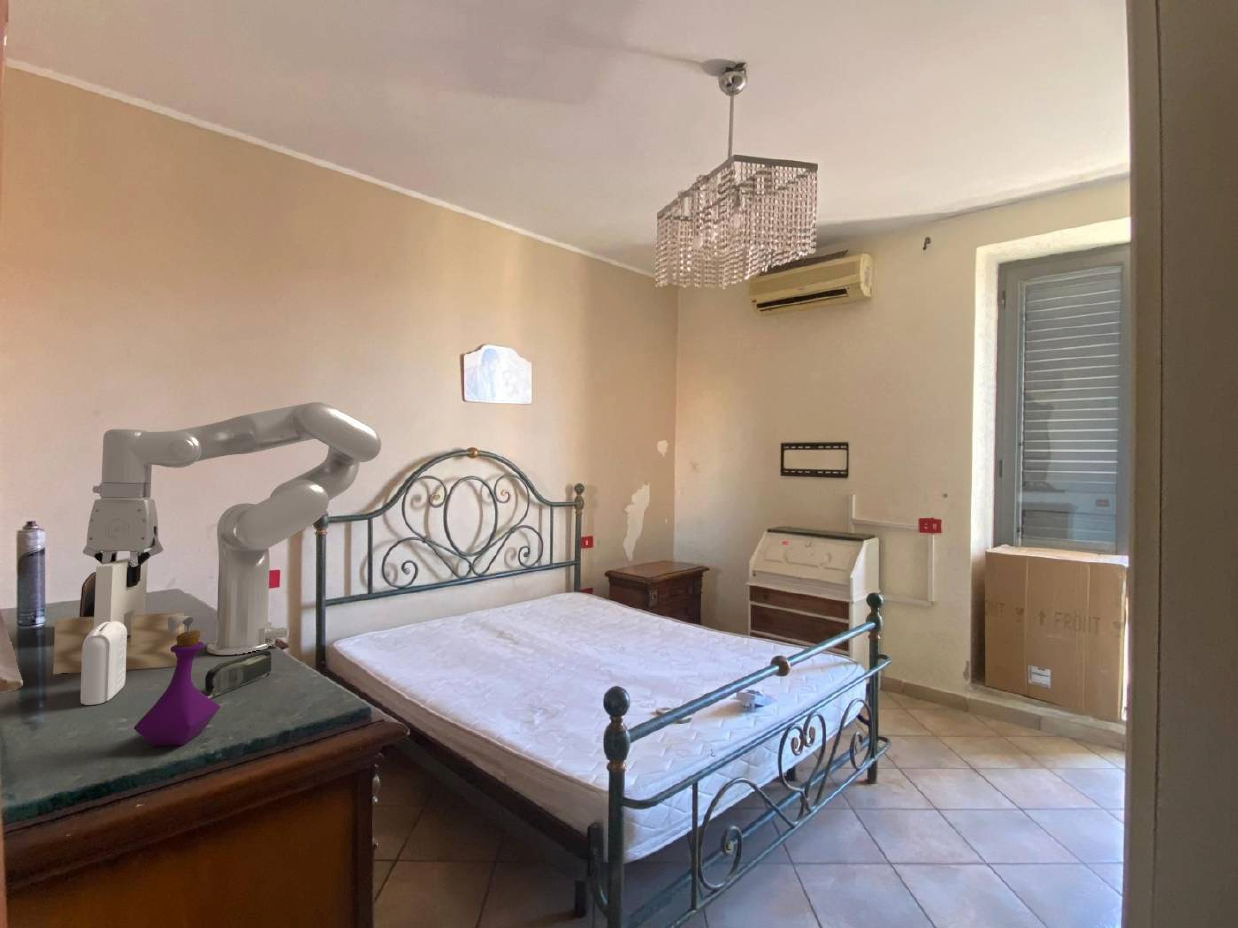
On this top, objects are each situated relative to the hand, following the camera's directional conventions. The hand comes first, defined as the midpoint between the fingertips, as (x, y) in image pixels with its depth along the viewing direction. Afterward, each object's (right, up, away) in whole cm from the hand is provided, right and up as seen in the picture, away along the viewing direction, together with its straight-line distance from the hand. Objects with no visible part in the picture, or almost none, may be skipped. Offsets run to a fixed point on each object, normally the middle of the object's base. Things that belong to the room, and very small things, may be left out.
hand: (122, 585), depth 116 cm
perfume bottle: (+33, -16, -30) cm, 47 cm away
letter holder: (-24, -17, +26) cm, 39 cm away
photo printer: (+8, -16, -14) cm, 23 cm away
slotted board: (0, -16, 0) cm, 16 cm away
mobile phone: (+28, -17, -8) cm, 34 cm away
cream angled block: (0, -10, 0) cm, 10 cm away
